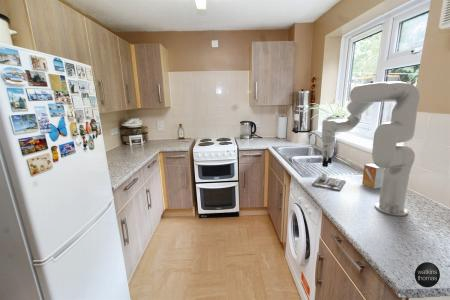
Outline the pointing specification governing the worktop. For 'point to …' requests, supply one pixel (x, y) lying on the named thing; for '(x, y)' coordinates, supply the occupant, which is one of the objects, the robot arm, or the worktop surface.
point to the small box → (372, 176)
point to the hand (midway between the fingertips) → (326, 164)
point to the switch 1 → (324, 177)
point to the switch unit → (328, 184)
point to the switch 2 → (333, 181)
